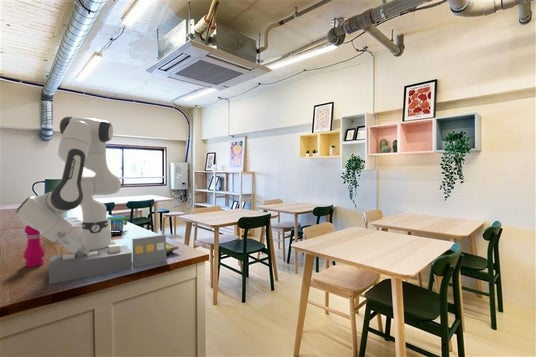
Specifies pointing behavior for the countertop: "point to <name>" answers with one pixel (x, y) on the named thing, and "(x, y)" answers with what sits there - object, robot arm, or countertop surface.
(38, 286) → the countertop surface
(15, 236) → the countertop surface
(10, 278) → the countertop surface
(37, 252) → the pepper mill
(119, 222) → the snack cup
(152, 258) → the card
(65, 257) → the key left
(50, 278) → the console
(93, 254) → the key middle
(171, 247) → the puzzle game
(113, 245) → the key right
